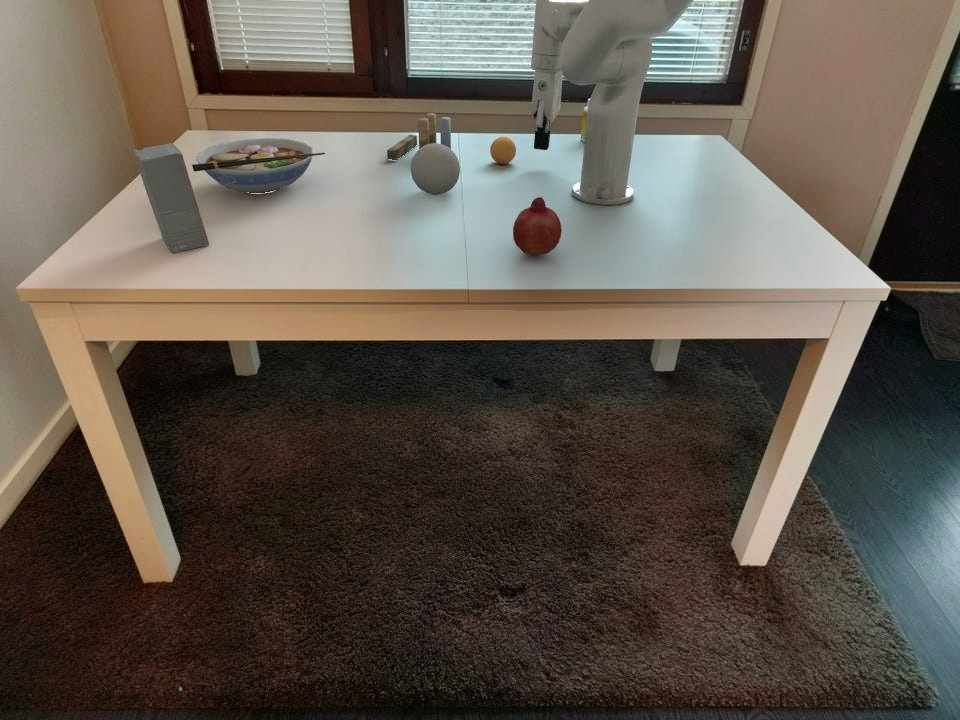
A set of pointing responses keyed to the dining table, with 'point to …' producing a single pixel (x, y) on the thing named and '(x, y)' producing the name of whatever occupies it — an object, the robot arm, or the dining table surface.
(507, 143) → the orange ball
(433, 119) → the pin
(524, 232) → the fruit
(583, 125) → the supplement bottle
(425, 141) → the pin
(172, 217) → the skincare box
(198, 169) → the ramen bowl
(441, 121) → the front pin
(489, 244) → the dining table surface
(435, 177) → the ball
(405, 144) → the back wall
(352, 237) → the dining table surface
